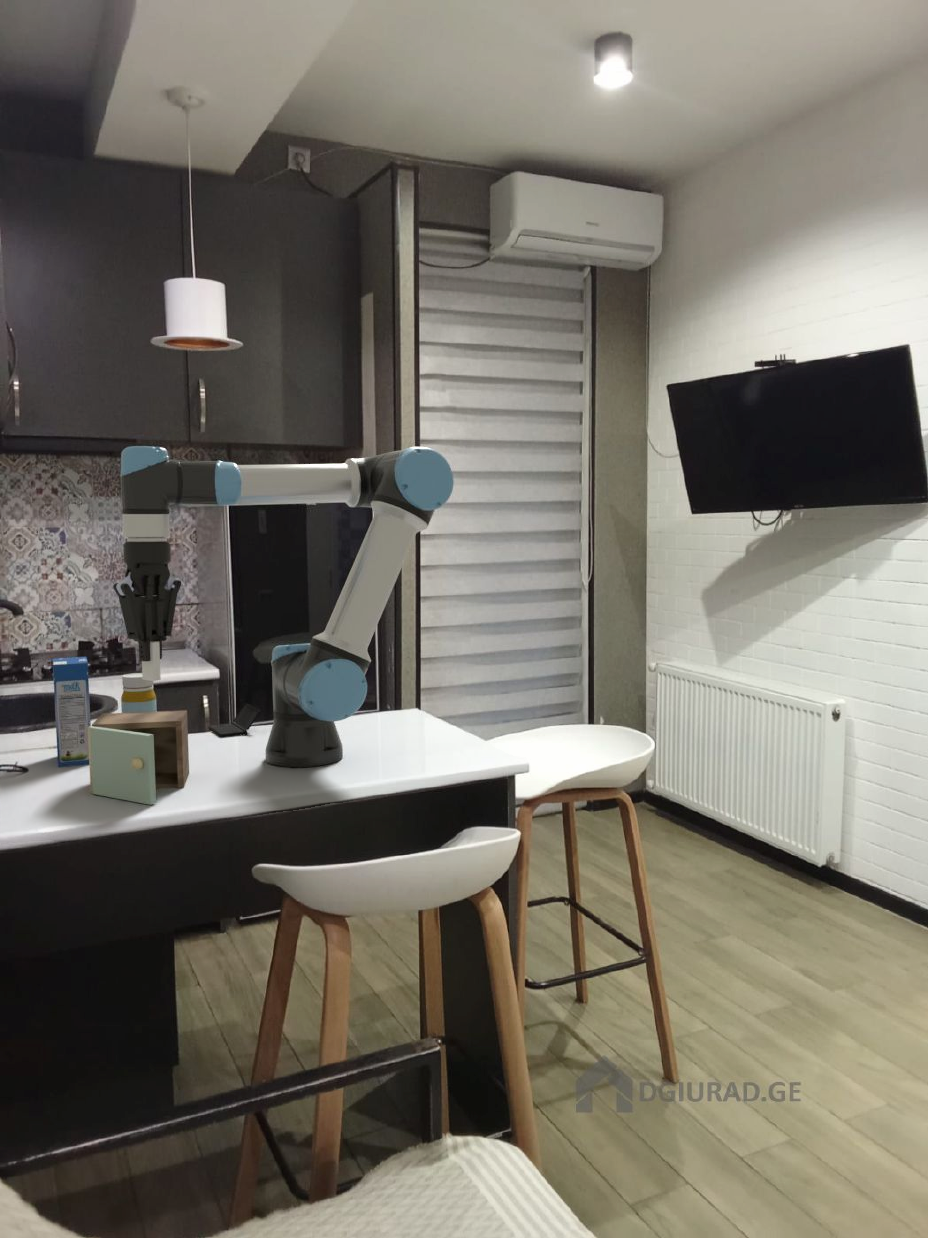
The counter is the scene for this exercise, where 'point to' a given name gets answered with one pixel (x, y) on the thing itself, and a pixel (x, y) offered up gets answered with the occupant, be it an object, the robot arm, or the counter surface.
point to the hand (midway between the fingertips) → (151, 679)
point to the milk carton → (72, 710)
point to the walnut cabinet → (158, 741)
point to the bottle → (137, 694)
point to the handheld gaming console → (237, 723)
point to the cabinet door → (122, 764)
